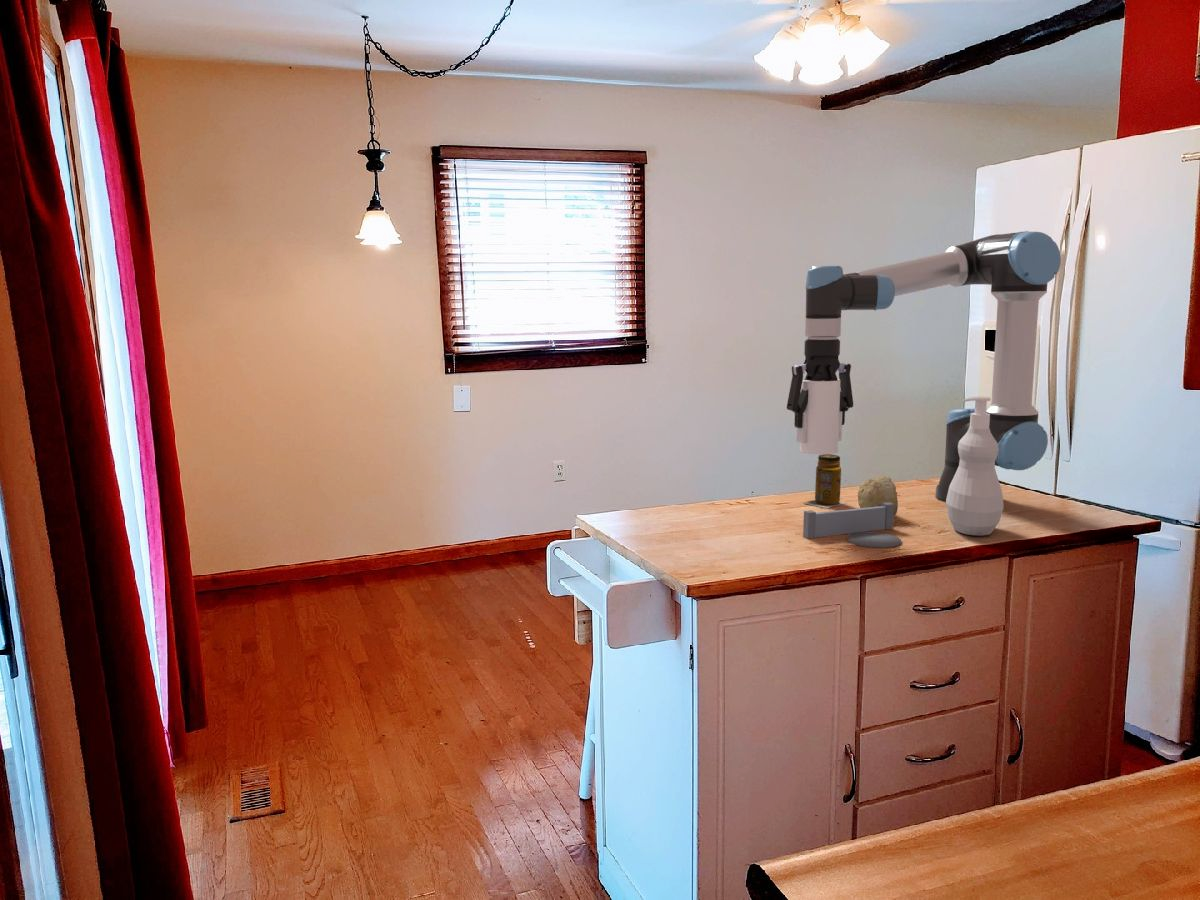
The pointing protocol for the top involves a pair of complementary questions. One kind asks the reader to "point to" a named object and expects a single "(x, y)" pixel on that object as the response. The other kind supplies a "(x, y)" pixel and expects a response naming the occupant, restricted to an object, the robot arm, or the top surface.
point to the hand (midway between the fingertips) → (819, 441)
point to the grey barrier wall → (848, 521)
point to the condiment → (827, 482)
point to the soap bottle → (976, 478)
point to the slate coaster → (874, 540)
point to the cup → (822, 417)
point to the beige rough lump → (877, 493)
